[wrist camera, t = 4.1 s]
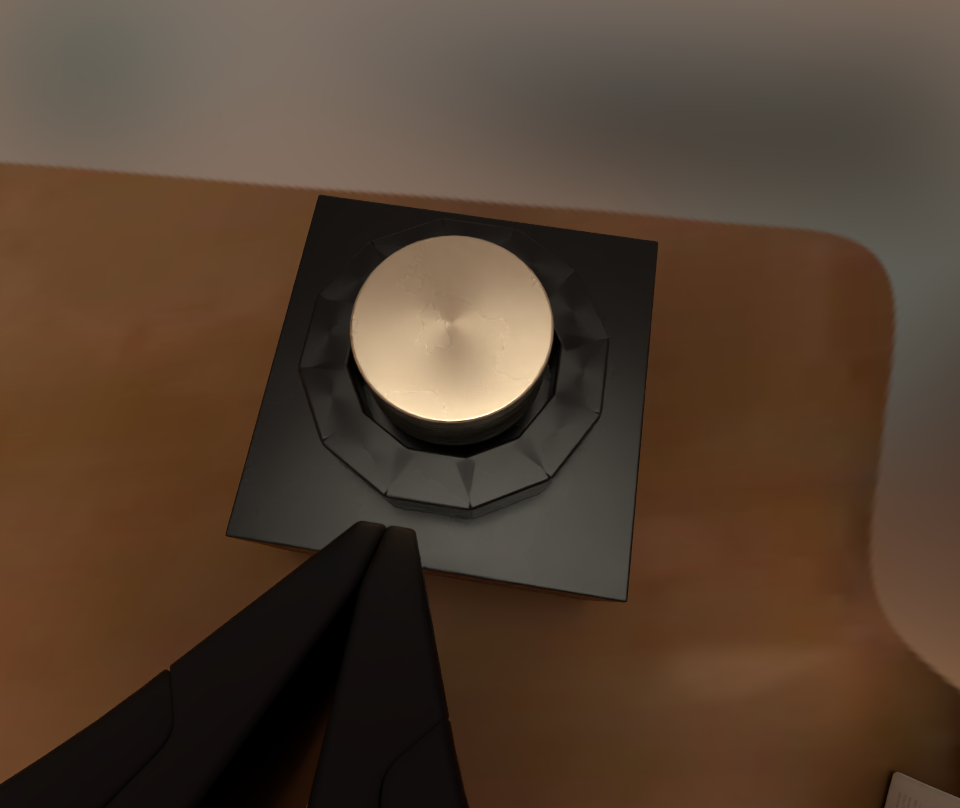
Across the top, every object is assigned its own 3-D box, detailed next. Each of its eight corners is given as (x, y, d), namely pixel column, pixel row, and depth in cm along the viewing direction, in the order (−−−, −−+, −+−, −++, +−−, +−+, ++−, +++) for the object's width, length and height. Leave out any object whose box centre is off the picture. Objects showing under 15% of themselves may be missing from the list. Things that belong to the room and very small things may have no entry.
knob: (532, 459, 15) (540, 438, 13) (348, 431, 15) (327, 405, 13) (555, 291, 16) (566, 248, 14) (385, 267, 16) (372, 221, 14)
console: (587, 600, 20) (647, 603, 13) (291, 551, 21) (192, 528, 14) (616, 323, 23) (677, 203, 16) (355, 285, 24) (301, 152, 17)
